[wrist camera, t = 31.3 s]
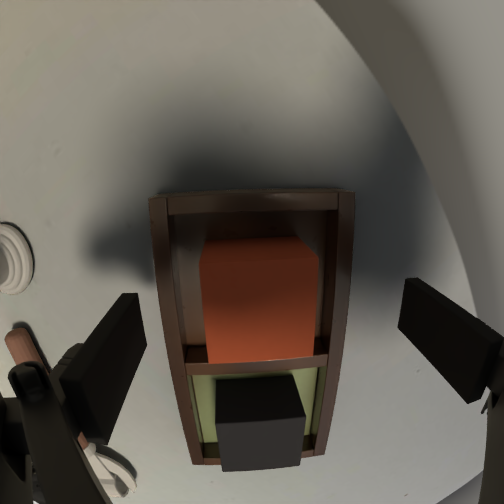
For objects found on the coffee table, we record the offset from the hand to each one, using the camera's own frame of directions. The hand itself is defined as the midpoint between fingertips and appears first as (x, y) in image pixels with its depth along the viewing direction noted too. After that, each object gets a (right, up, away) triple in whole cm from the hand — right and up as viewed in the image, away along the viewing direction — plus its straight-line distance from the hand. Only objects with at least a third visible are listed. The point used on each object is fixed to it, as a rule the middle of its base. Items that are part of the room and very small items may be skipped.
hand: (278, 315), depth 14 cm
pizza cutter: (-18, -13, +9) cm, 24 cm away
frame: (-1, -4, +7) cm, 8 cm away
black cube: (-1, -9, +8) cm, 12 cm away
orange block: (-1, +1, +5) cm, 6 cm away
